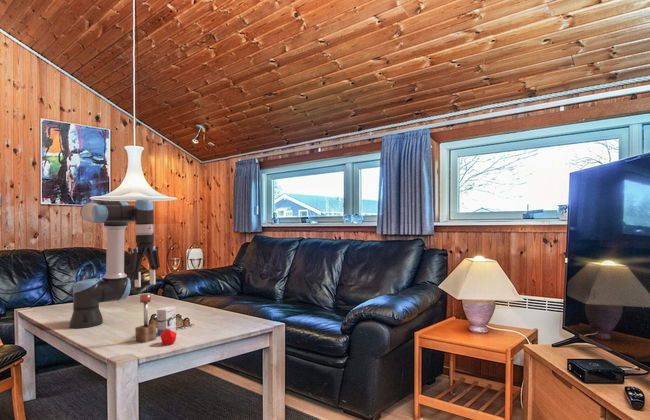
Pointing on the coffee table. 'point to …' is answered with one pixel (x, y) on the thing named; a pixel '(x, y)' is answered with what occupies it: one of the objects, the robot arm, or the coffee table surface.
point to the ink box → (166, 319)
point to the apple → (168, 337)
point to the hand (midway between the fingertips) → (145, 285)
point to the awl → (145, 306)
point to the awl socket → (145, 333)
